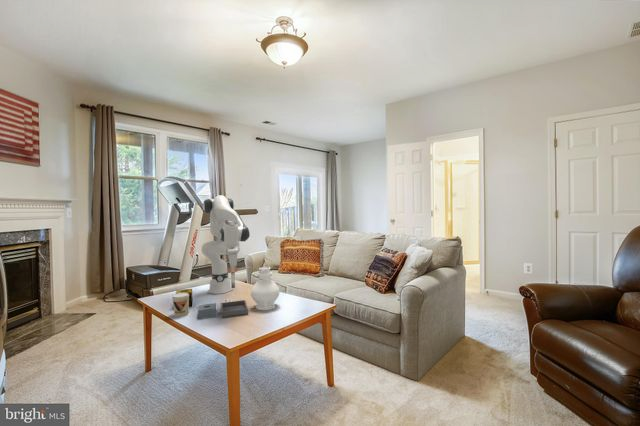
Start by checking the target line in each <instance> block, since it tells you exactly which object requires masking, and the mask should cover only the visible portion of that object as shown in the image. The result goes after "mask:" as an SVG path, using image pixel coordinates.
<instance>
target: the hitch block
mask: <svg viewBox="0 0 640 426" xmlns="http://www.w3.org/2000/svg"><path fill="white" fill-rule="evenodd" d="M216 317H217V303H216V302H213V303H206V304H199V305H198V308H197V319H198V320H201V319H209V318H216Z"/></svg>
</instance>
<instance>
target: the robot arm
mask: <svg viewBox="0 0 640 426" xmlns="http://www.w3.org/2000/svg"><path fill="white" fill-rule="evenodd" d="M234 208H235V203H234V200H233V199H232V198H229V197H228V198H227V197H226V196H225V195H222V194H221V195H217V196H215V197H214V198H207V199H204V201H203V203H202V210H203V212H204V213H205V214H209V230H210V233H211V235H212V236H215V237H216V238H217V240H214V241H213V240H211V241H207V242H205V243H203V244H202V246H201V253H202V254H203V255H204V256H205V257H206V258H208V260H209V261H210V265H211V280H210V281H209V289H208V290H207V291H206V292H207V294H216V295H217V294H219V295H220V294H225V293H228V292H231V291H234V288H232V287H231V278H229V271H228V262H229V266H230V268H231V271H232V272H234V271H235V267H237V263H238V255H239V252H240V242H246V241H247V240H248V239H249V238H250V237H251V236H250V229H249V228H248V227H247V225H246V224H245V223H244V221H243V219H242V218H241V215H240V214H239V212H238V211H236V210H234ZM227 221H228V222H227ZM222 255H227V256H228V262H227V260H225V259H223V258H221V256H222Z"/></svg>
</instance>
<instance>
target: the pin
mask: <svg viewBox="0 0 640 426" xmlns="http://www.w3.org/2000/svg"><path fill="white" fill-rule="evenodd" d="M227 272H228V273H230V284H231V287H232V288H233V289H235V288H236V273H237V272H238V267H237V266H235V271H234V272H232V271H231V267H227Z"/></svg>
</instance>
